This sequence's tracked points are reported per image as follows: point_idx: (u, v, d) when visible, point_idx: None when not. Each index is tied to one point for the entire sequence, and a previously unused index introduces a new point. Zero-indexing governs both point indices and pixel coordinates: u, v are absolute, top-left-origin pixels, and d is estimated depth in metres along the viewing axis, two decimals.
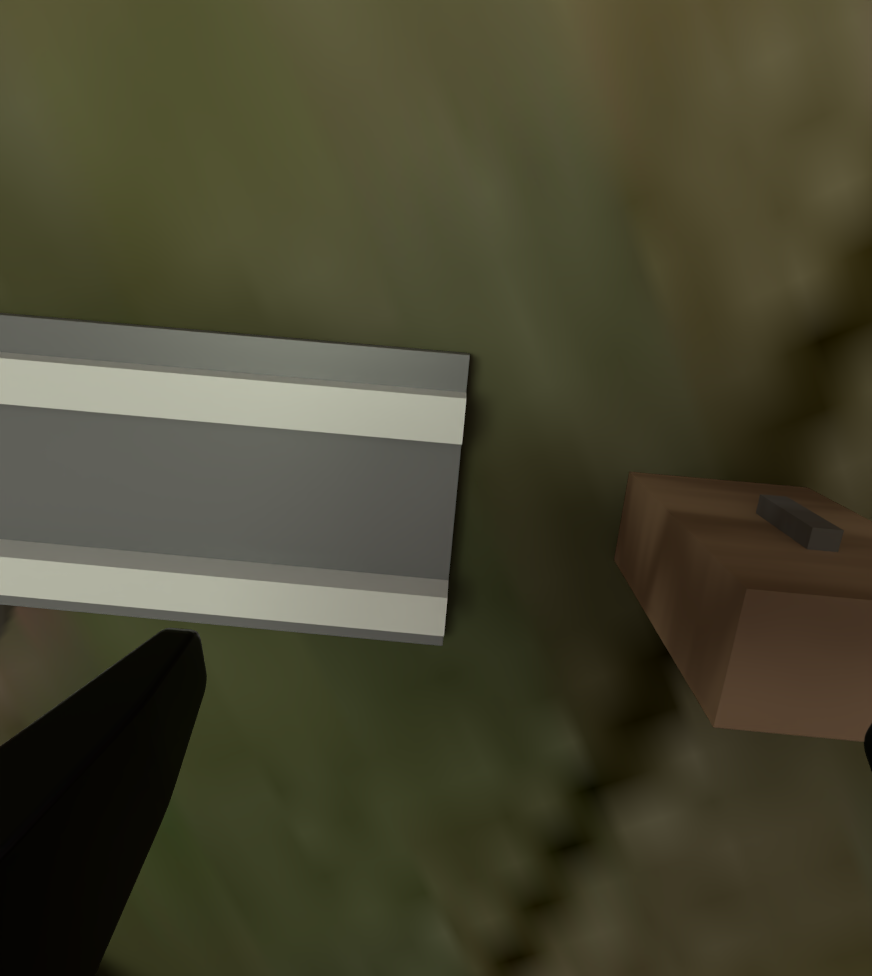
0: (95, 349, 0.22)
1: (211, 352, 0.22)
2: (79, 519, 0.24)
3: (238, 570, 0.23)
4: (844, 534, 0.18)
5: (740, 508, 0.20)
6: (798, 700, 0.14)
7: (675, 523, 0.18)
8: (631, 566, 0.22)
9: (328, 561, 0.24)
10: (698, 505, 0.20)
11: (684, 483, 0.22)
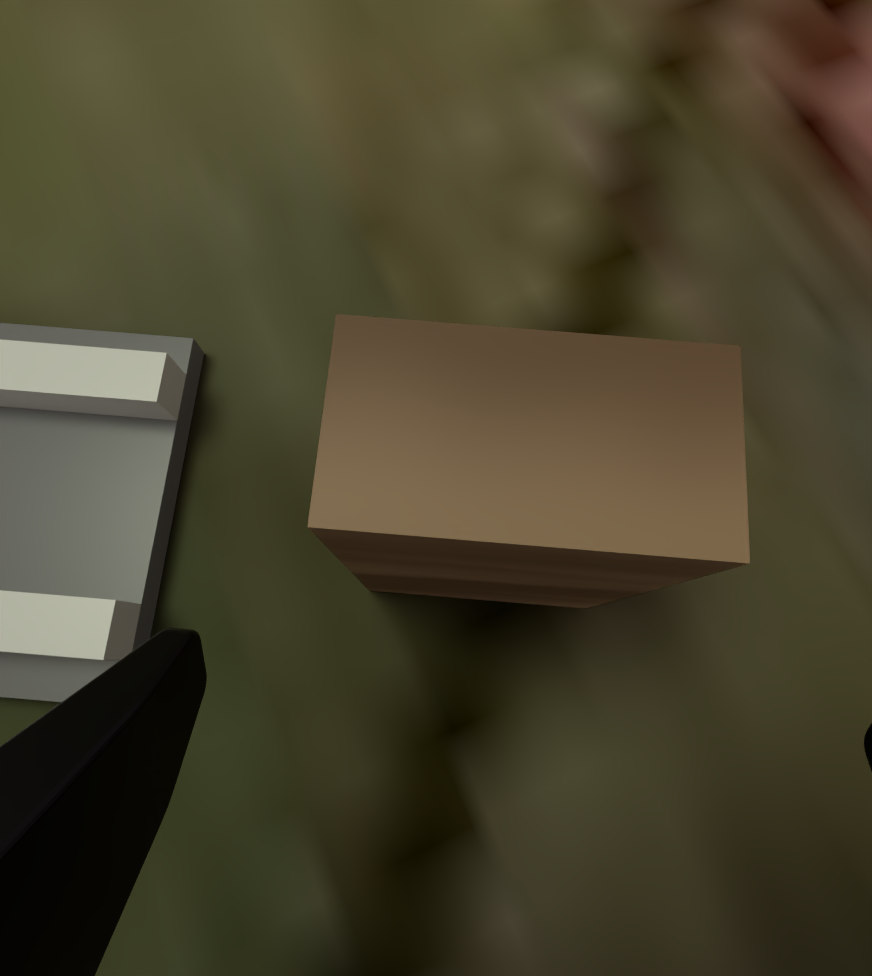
0: None
1: None
2: None
3: None
4: None
5: None
6: (429, 477, 0.10)
7: None
8: None
9: None
10: None
11: None
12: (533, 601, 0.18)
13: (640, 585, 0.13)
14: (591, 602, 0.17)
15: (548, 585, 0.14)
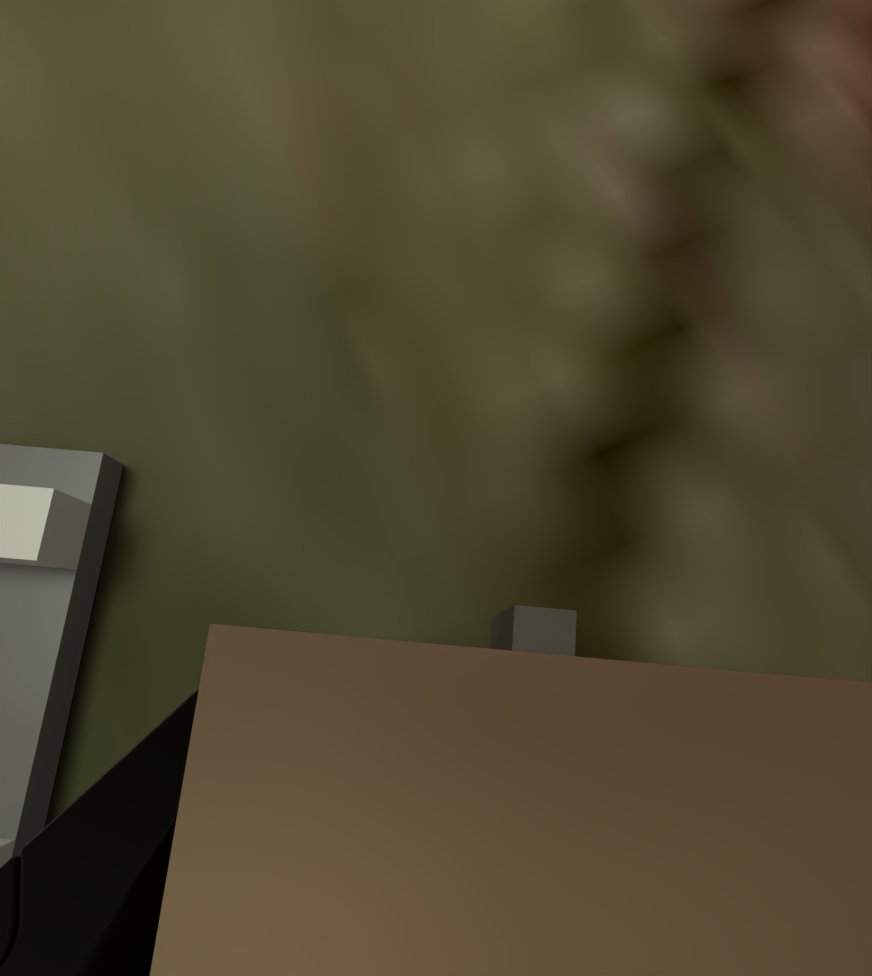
0: None
1: None
2: None
3: None
4: None
5: None
6: None
7: None
8: None
9: None
10: None
11: None
12: None
13: None
14: None
15: None
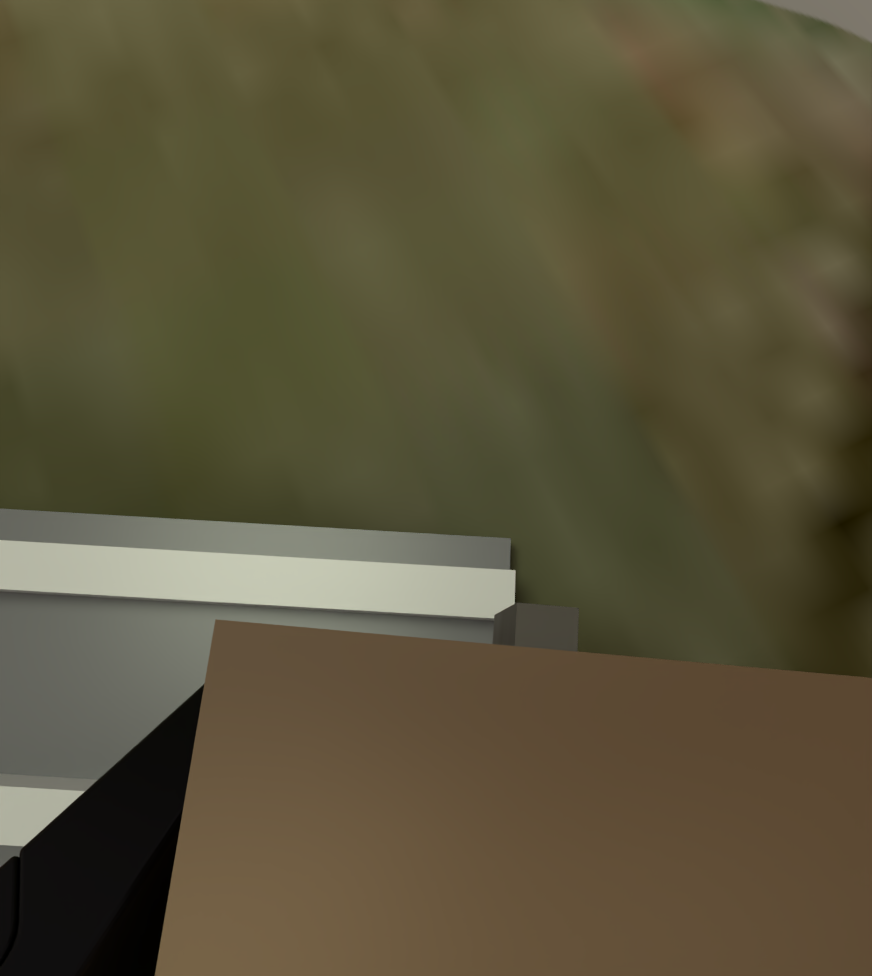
0: (129, 542, 0.21)
1: (249, 542, 0.21)
2: (60, 739, 0.20)
3: None
4: None
5: None
6: None
7: None
8: None
9: None
10: None
11: None
12: None
13: None
14: None
15: None
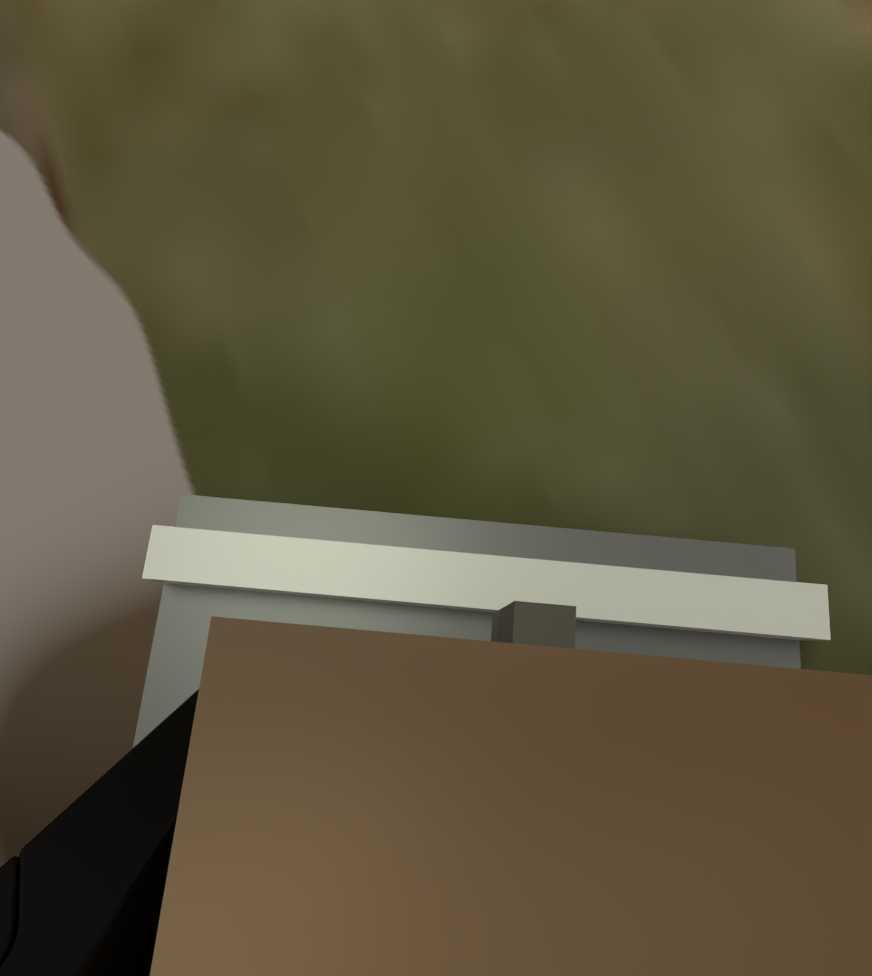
0: (376, 540, 0.19)
1: (508, 544, 0.19)
2: None
3: None
4: None
5: None
6: None
7: None
8: None
9: None
10: None
11: None
12: None
13: None
14: None
15: None
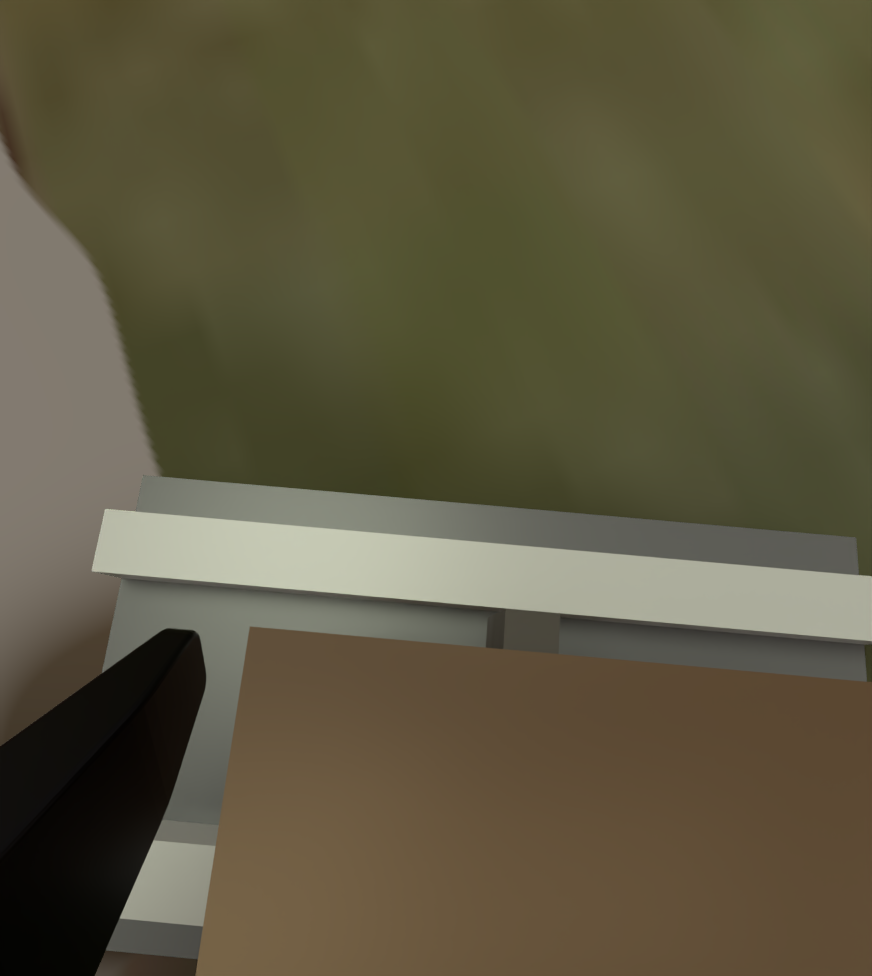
0: (369, 527, 0.17)
1: (522, 532, 0.17)
2: None
3: None
4: None
5: None
6: (396, 941, 0.06)
7: None
8: None
9: None
10: None
11: None
12: None
13: None
14: None
15: None
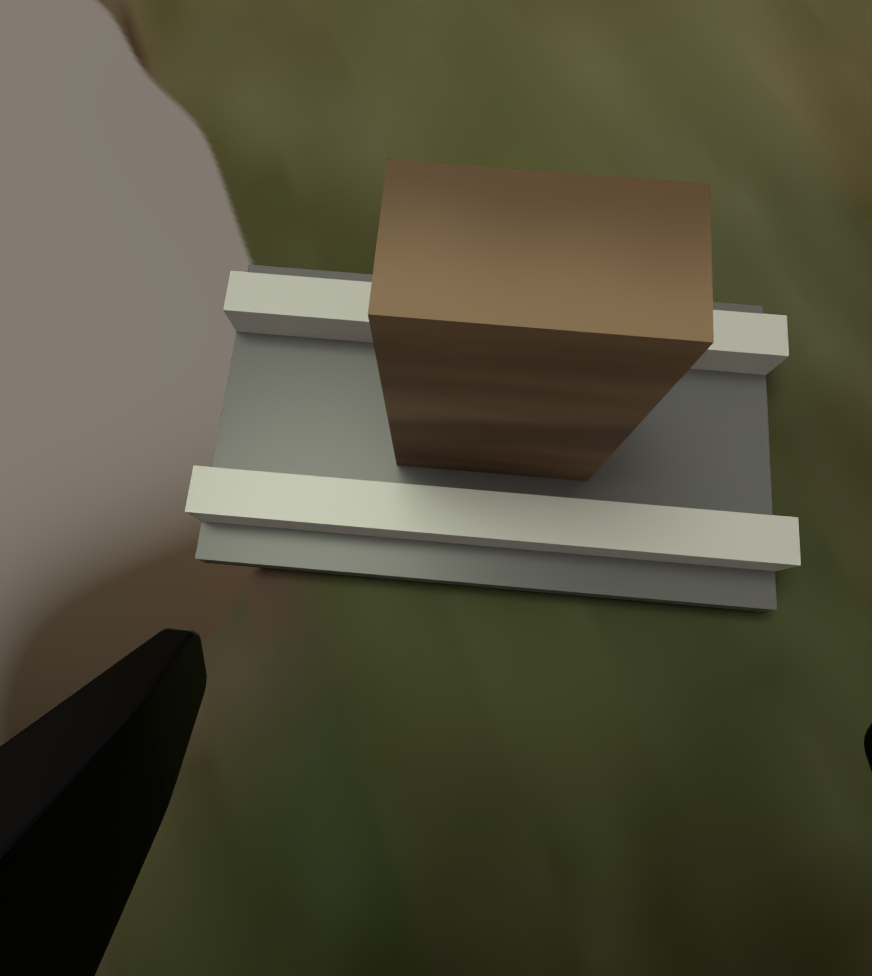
0: None
1: None
2: (364, 460, 0.22)
3: None
4: None
5: None
6: (462, 278, 0.12)
7: None
8: None
9: None
10: None
11: None
12: (541, 469, 0.21)
13: (631, 410, 0.15)
14: (591, 462, 0.19)
15: (554, 423, 0.17)
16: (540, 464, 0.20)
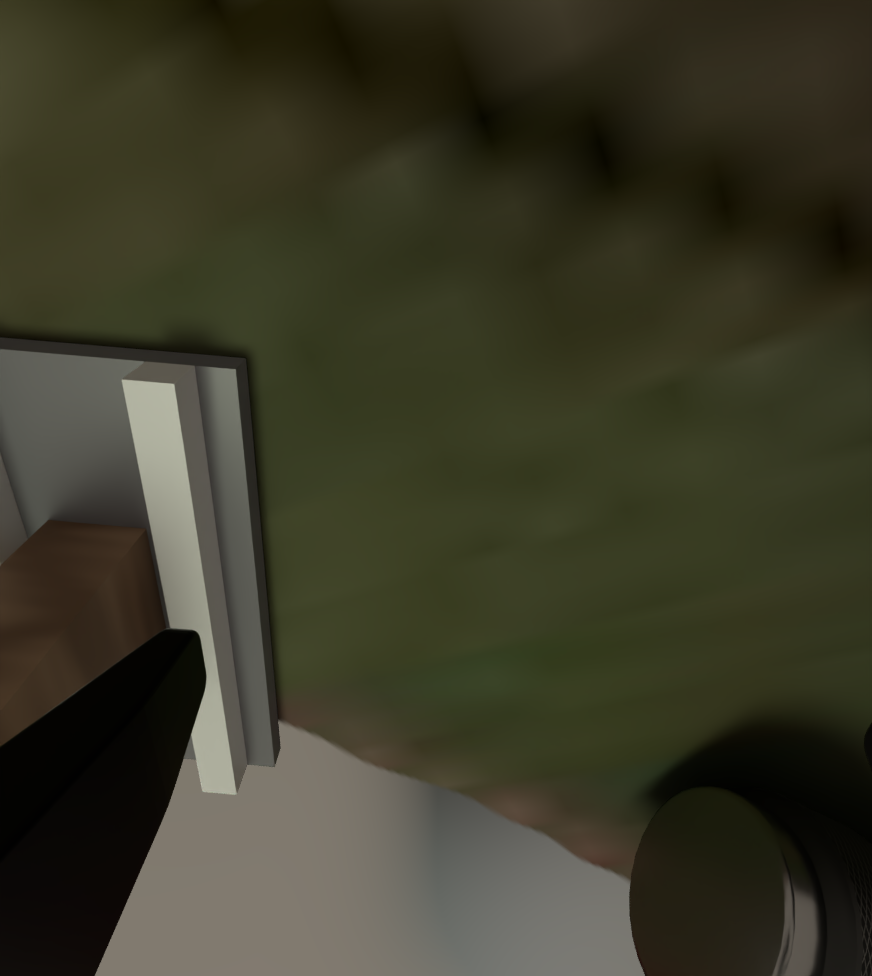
0: None
1: None
2: None
3: None
4: None
5: None
6: None
7: None
8: None
9: None
10: None
11: None
12: (142, 582, 0.22)
13: (41, 677, 0.17)
14: (119, 573, 0.21)
15: (80, 681, 0.19)
16: (136, 595, 0.22)
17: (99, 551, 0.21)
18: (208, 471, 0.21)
